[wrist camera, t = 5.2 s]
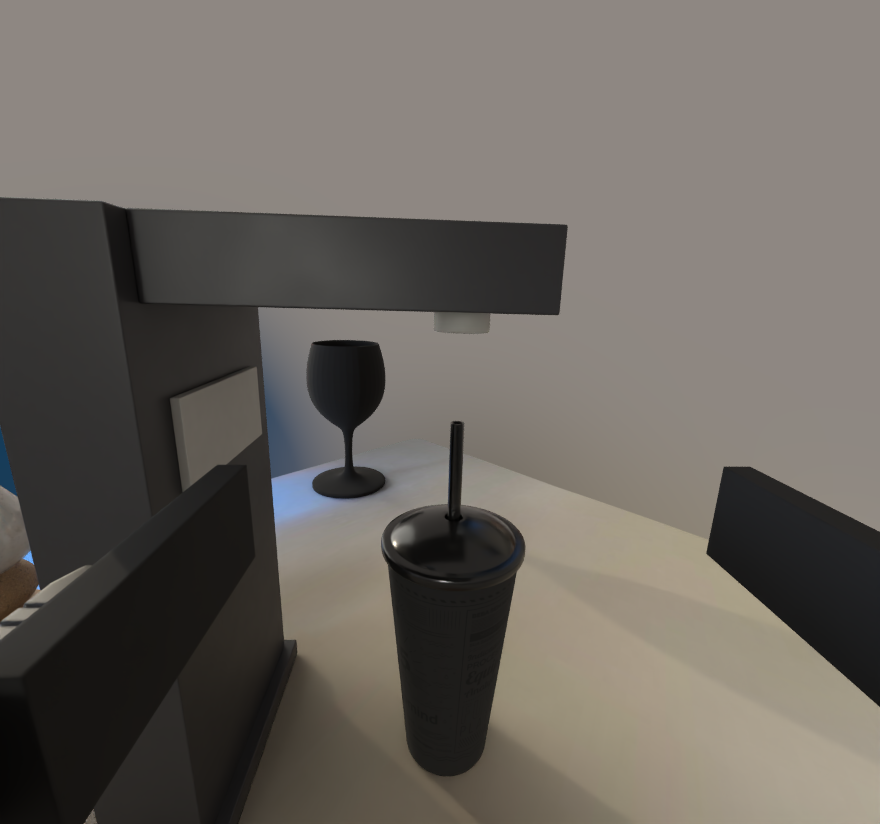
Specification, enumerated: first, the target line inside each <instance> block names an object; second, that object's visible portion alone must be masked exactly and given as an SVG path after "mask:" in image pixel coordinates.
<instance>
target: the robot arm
mask: <svg viewBox="0 0 880 824" xmlns="http://www.w3.org/2000/svg"><path fill="white" fill-rule="evenodd" d="M706 554H707V555H709V556H710V557H711V558H712V559H713V560H714V561H715V562H716V563H718V564H719V565H720V566H721V567H722V568H723V569H724V570H725V571H727V572H728V573H729V574H730V575H731V576H732V577H733V578H735V579H736V580H737V581H738V582H739V583H740V584H741V585H742V586H744V587H745V588H746V589H747V590H748V591H749V592H750V593H752V594H753V595H754V596H755V597H756V598H757V599H758V600H759V601H761V602H762V603H763V604H764V605H765V606H766V607H767V608H769V609H770V610H771V611H772V612H773V613H774V614H775V615H776V616H778V617H779V618H780V619H781V620H782V621H783V622H784V623H785V624H787V625H788V626H789V627H790V628H791V629H792V630H793V631H795V632H796V633H797V634H798V635H799V636H800V637H801V638H802V639H804V640H805V641H806V642H807V643H808V644H809V645H810V646H812V647H813V648H814V649H815V650H816V651H817V652H818V653H819V654H821V655H822V656H823V657H824V658H825V659H826V660H827V661H829V662H830V663H831V664H832V665H833V666H834V667H835V668H836V669H838V670H839V671H840V672H841V673H842V674H843V675H844V676H846V677H847V678H848V679H849V680H850V681H851V682H852V683H853V684H855V685H856V686H857V687H858V688H859V689H860V690H861V691H862V692H864V693H865V694H866V695H867V696H868V697H869V698H870V699H872V700H873V701H874V702H875V703H876V704H877V705H878V706H879V707H880V532H879V531H877V530H875V529H873V528H871V527H869V526H867V525H865V524H863V523H861V522H859V521H857V520H855V519H853V518H851V517H849V516H847V515H845V514H843V513H841V512H839V511H837V510H835V509H833V508H831V507H829V506H827V505H825V504H823V503H821V502H819V501H817V500H815V499H813V498H811V497H809V496H807V495H805V494H803V493H801V492H799V491H797V490H795V489H793V488H791V487H789V486H787V485H785V484H783V483H781V482H779V481H777V480H775V479H773V478H771V477H769V476H767V475H765V474H763V473H761V472H759V471H757V470H755V469H753V468H751V467H724V469H723V473H722V478H721V483H720V488H719V493H718V498H717V503H716V508H715V513H714V518H713V523H712V528H711V533H710V538H709V543H708V548H707V553H706ZM255 557H256V555H255V545H254V535H253V525H252V514H251V504H250V494H249V484H248V473H247V465H216V466H215V467H214V468H212V469H211V470H210V471H209V472H207V473H206V474H205V475H204V476H202V477H201V478H200V479H199V480H198V481H196V482H195V483H194V484H193V485H191V486H190V487H189V488H188V489H186V490H185V491H184V492H183V493H181V494H180V495H179V496H178V497H176V498H175V499H174V500H173V501H172V502H170V503H169V504H168V505H167V506H165V507H164V508H163V509H162V510H160V511H159V512H158V513H157V514H155V515H154V516H153V517H152V518H150V519H149V520H148V521H147V522H145V523H144V524H143V525H142V526H141V527H139V528H138V529H137V530H136V531H134V532H133V533H132V534H131V535H129V536H128V537H127V538H126V539H124V540H123V541H122V542H121V543H119V544H118V545H117V546H116V547H115V548H113V549H112V550H111V551H110V552H108V553H107V554H106V555H105V556H103V557H102V558H101V559H100V560H98V561H97V562H96V563H95V564H93V565H85V566H83V567H81V568H79V569H77V570H75V571H73V572H71V573H69V574H67V575H65V576H63V577H62V578H60V579H58V580H56V581H54V582H52V583H50V584H49V585H48V586H46V587H45V588H44V589H42V590H41V591H40V592H39V593H37V594H36V595H35V596H33V597H32V598H31V599H29V600H28V601H27V602H25V603H24V606H23V608H18V609H16V610H15V611H14V612H12V613H11V614H10V615H8V616H7V617H6V618H5V619H3V620H2V621H1V622H0V824H84V822H85V821H86V819H87V817H88V816H89V814H90V813H91V811H92V810H93V808H94V807H95V805H96V803H97V802H98V800H99V799H100V797H101V796H102V794H103V793H104V791H105V789H106V788H107V786H108V785H109V783H110V782H111V780H112V779H113V777H114V776H115V774H116V772H117V771H118V769H119V768H120V766H121V765H122V763H123V762H124V760H125V758H126V757H127V755H128V754H129V752H130V751H131V749H132V748H133V746H134V744H135V743H136V741H137V740H138V738H139V737H140V735H141V734H142V732H143V730H144V729H145V727H146V726H147V724H148V723H149V721H150V720H151V718H152V717H153V715H154V713H155V712H156V710H157V709H158V707H159V706H160V704H161V703H162V701H163V699H164V698H165V696H166V695H167V693H168V692H169V690H170V689H171V687H172V685H173V684H174V682H175V681H176V679H177V678H178V676H179V675H180V673H181V671H182V670H183V668H184V667H185V665H186V664H187V662H188V661H189V659H190V657H191V656H192V654H193V653H194V651H195V650H196V648H197V647H198V645H199V644H200V642H201V640H202V639H203V637H204V636H205V634H206V633H207V631H208V630H209V628H210V626H211V625H212V623H213V622H214V620H215V619H216V617H217V616H218V614H219V612H220V611H221V609H222V608H223V606H224V605H225V603H226V602H227V600H228V598H229V597H230V595H231V594H232V592H233V591H234V589H235V588H236V586H237V585H238V583H239V581H240V580H241V578H242V577H243V575H244V574H245V572H246V571H247V569H248V567H249V566H250V564H251V563H252V561H253V560H254V558H255Z"/></svg>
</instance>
